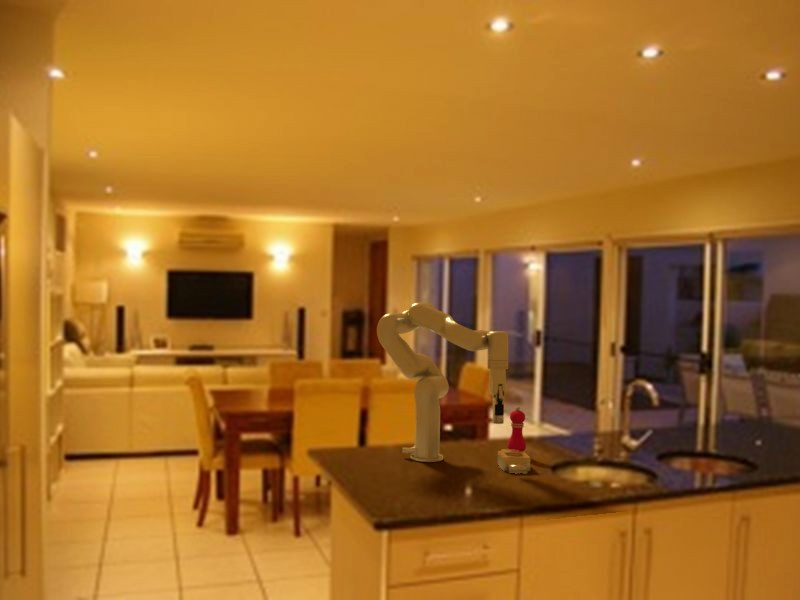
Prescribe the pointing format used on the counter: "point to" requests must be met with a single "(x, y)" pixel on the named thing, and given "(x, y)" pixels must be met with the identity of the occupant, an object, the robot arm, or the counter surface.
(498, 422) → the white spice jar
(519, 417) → the pepper mill
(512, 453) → the beige stand
